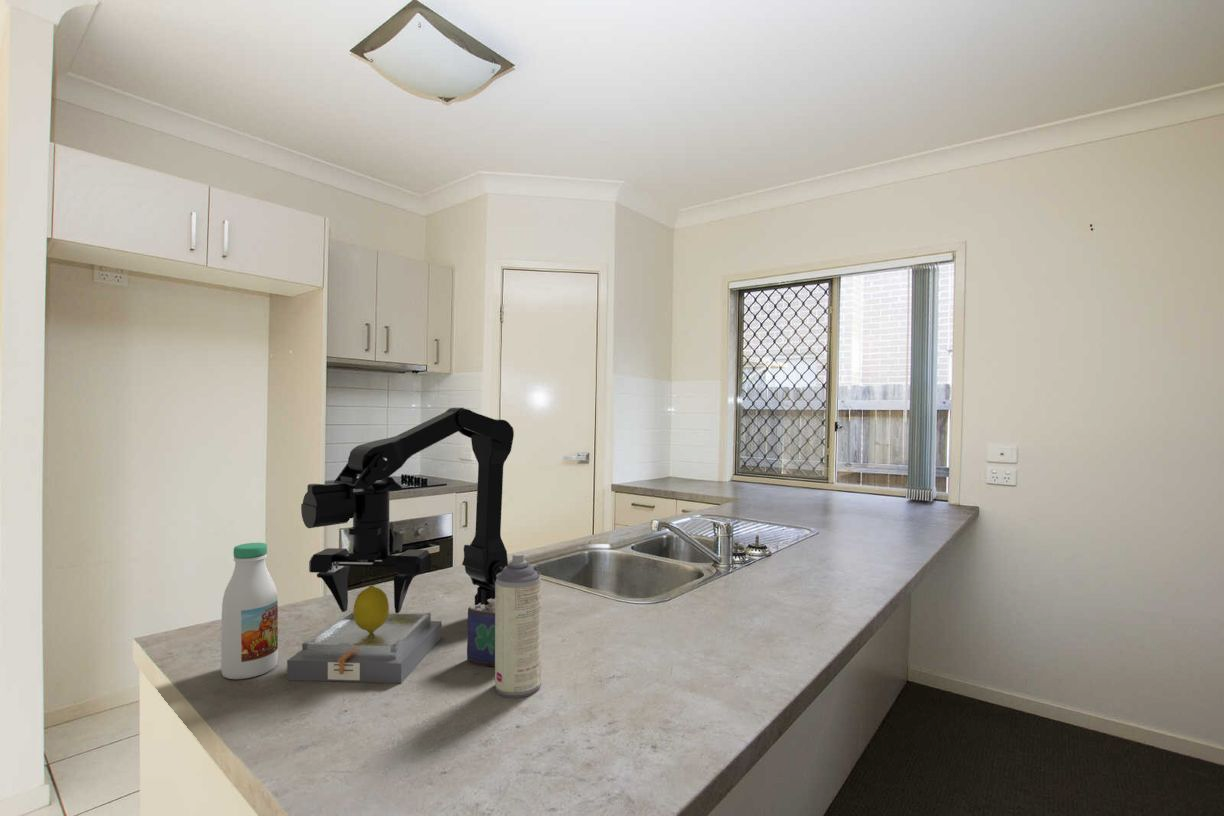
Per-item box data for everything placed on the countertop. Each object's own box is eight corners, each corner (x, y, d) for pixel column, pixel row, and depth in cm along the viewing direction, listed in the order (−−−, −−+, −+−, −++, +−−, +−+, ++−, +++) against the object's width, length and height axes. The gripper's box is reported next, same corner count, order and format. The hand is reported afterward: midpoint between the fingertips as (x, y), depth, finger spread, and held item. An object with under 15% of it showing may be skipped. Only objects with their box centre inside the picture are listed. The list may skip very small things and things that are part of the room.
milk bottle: (218, 685, 90) (218, 552, 90) (224, 665, 97) (224, 542, 97) (276, 674, 94) (277, 547, 94) (278, 656, 100) (279, 537, 100)
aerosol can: (523, 672, 95) (524, 546, 95) (549, 687, 90) (550, 554, 90) (486, 686, 90) (486, 554, 90) (511, 702, 85) (512, 562, 85)
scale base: (441, 637, 109) (441, 621, 109) (400, 683, 91) (400, 664, 91) (345, 635, 110) (345, 619, 110) (286, 680, 92) (286, 660, 92)
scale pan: (430, 632, 107) (430, 613, 107) (389, 675, 90) (389, 652, 90) (349, 630, 108) (349, 611, 108) (293, 672, 91) (293, 650, 91)
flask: (521, 663, 98) (521, 598, 98) (514, 670, 95) (514, 604, 95) (471, 656, 101) (471, 593, 101) (462, 663, 98) (462, 598, 98)
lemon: (394, 627, 103) (394, 581, 103) (378, 640, 97) (379, 591, 97) (364, 626, 103) (364, 580, 103) (346, 638, 98) (346, 590, 98)
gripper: (442, 511, 108) (441, 597, 108) (341, 510, 109) (341, 595, 109) (418, 523, 97) (418, 619, 97) (307, 522, 98) (307, 617, 98)
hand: (371, 611), depth 100 cm, fingers open, 9 cm apart
